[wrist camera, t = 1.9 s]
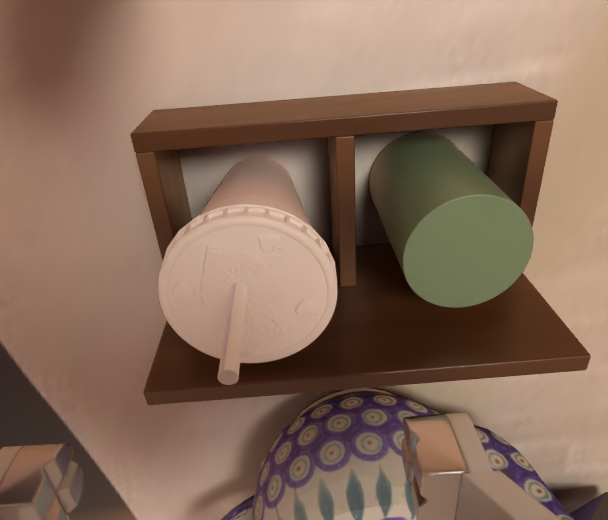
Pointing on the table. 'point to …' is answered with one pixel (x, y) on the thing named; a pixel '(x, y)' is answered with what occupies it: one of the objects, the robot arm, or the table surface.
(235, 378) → the smoothie
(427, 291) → the spice tin
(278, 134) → the rack
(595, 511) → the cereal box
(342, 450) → the teapot
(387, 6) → the table surface
